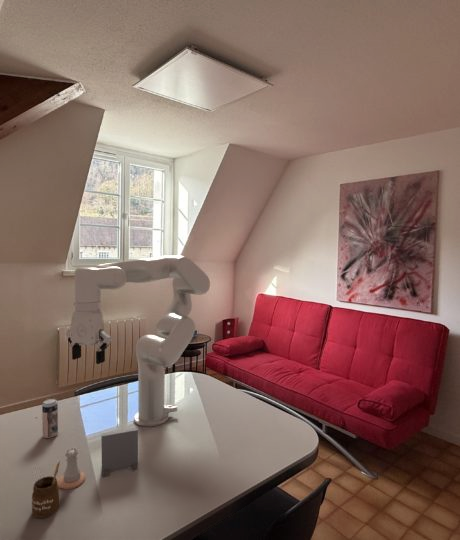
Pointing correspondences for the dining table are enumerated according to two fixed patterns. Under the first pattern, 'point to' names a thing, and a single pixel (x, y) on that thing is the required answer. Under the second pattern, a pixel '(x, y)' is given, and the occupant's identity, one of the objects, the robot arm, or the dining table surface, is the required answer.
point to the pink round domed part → (66, 485)
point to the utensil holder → (45, 495)
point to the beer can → (50, 418)
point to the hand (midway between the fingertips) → (88, 360)
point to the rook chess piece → (71, 466)
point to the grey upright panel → (119, 450)
